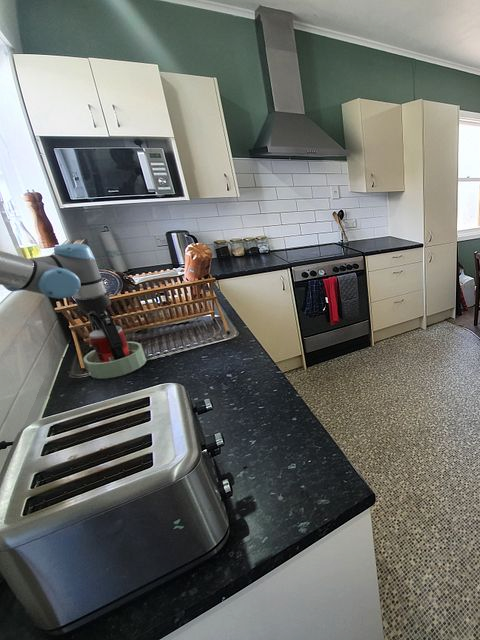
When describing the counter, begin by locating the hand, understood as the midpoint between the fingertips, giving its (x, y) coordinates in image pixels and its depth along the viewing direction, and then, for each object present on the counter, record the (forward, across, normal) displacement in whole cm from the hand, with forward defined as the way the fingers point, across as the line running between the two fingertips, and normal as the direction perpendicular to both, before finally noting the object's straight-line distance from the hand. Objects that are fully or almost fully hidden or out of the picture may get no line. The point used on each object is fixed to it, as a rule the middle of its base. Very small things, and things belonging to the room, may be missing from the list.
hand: (116, 360), depth 114 cm
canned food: (0, 0, 0) cm, 0 cm away
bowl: (+3, 0, 0) cm, 3 cm away
